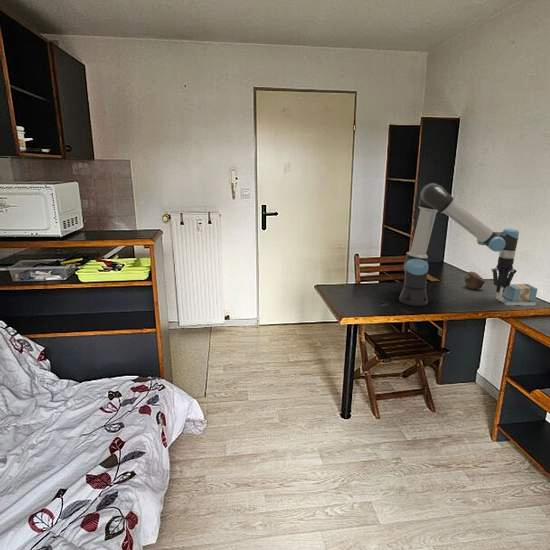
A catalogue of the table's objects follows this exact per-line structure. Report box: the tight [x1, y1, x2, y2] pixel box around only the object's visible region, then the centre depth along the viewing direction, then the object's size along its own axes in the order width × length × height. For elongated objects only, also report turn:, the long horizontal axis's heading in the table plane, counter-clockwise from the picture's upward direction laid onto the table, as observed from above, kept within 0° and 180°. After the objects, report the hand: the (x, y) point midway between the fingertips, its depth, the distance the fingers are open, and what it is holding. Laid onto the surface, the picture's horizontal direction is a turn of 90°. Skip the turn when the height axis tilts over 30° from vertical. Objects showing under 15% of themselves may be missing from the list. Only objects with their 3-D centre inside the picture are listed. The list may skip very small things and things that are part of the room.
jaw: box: [504, 283, 521, 302], centre depth 224 cm, size 4×9×8 cm, turn 179°
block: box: [513, 283, 530, 302], centre depth 224 cm, size 5×8×8 cm, turn 179°
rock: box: [464, 271, 486, 290], centre depth 248 cm, size 12×10×10 cm
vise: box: [495, 283, 538, 307], centre depth 224 cm, size 16×11×10 cm
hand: (499, 297), depth 225 cm, fingers closed
